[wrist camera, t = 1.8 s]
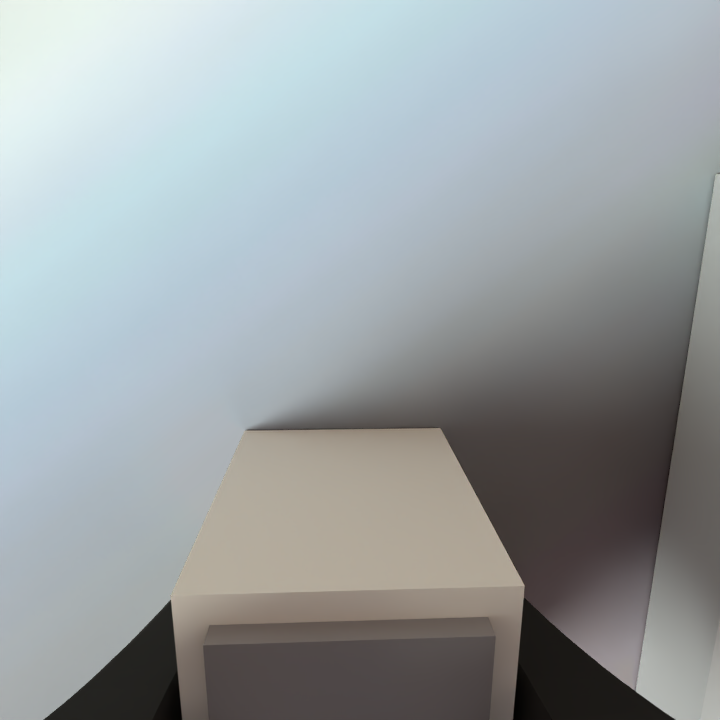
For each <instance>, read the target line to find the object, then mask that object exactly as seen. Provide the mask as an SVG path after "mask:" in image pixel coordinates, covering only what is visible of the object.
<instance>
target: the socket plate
mask: <svg viewBox="0 0 720 720" xmlns="http://www.w3.org/2000/svg"><path fill="white" fill-rule="evenodd" d="M636 692H637V693H638V694H640V695H641V696H643V697H644V698H645V699H647V700H648V701H650V702H651V703H652V704H654V705H655V706H656V707H658V708H659V709H661V710H662V711H664V712H665V713H666V714H668V715H669V716H671V717H672V718H674V719H675V720H720V174H716V175H715V182H714V188H713V195H712V201H711V207H710V214H709V220H708V227H707V233H706V240H705V246H704V253H703V259H702V266H701V272H700V279H699V285H698V291H697V298H696V304H695V311H694V317H693V324H692V330H691V337H690V343H689V350H688V356H687V363H686V369H685V376H684V382H683V388H682V395H681V401H680V408H679V414H678V421H677V427H676V434H675V440H674V447H673V453H672V460H671V466H670V472H669V479H668V485H667V492H666V498H665V505H664V511H663V518H662V524H661V531H660V537H659V544H658V550H657V556H656V563H655V569H654V576H653V582H652V589H651V595H650V602H649V608H648V615H647V621H646V628H645V634H644V640H643V647H642V653H641V660H640V666H639V673H638V679H637V686H636Z"/></svg>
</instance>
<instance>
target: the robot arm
mask: <svg viewBox="0 0 720 720" xmlns="http://www.w3.org/2000/svg"><path fill="white" fill-rule="evenodd" d="M44 720H182V712H181V701H180V691H179V680H178V669H177V659H176V648H175V637H174V627H173V616H172V605H171V600H170V601H169V602H168V603H167V604H166V605H165V607H164V608H163V609H162V610H161V611H160V612H159V613H158V614H157V615H156V616H155V617H154V618H153V619H152V620H151V621H150V622H149V623H148V624H147V625H146V627H145V628H144V629H143V630H142V631H141V632H140V633H139V634H138V635H137V636H136V637H135V638H134V639H133V640H132V641H131V642H130V643H129V644H128V645H127V646H126V647H125V648H124V649H123V650H122V651H121V652H120V653H119V654H118V655H116V656H115V657H114V658H113V659H112V660H111V661H110V662H109V663H108V664H107V665H106V666H105V667H104V668H103V669H102V670H101V671H100V672H99V673H97V674H96V675H95V676H94V677H93V678H92V679H91V680H90V681H89V682H88V683H87V684H86V685H85V686H83V687H82V688H81V689H80V690H79V691H78V692H77V693H75V694H74V695H73V696H72V697H71V698H70V699H68V700H67V701H66V702H65V703H64V704H63V705H61V706H60V707H59V708H58V709H56V710H55V711H54V712H53V713H51V714H50V715H49V716H48V717H47V718H45V719H44ZM513 720H675V719H674V718H672V717H671V716H669V715H668V714H666V713H665V712H664V711H662V710H661V709H659V708H658V707H656V706H655V705H654V704H652V703H651V702H650V701H648V700H647V699H645V698H644V697H643V696H641V695H640V694H638V693H637V692H636V691H634V690H633V689H631V688H630V687H629V686H627V685H626V684H625V683H623V682H622V681H620V680H619V679H618V678H617V677H615V676H614V675H613V674H611V673H610V672H609V671H607V670H606V669H605V668H604V667H602V666H601V665H600V664H599V663H598V662H596V661H595V660H594V659H593V658H591V657H590V656H589V655H588V654H587V653H585V652H584V651H583V650H582V649H581V648H579V647H578V646H577V645H576V644H575V643H573V642H572V641H571V640H570V639H569V638H568V637H566V636H565V635H564V634H563V633H562V632H561V631H560V630H558V629H557V628H556V627H555V626H554V625H553V624H552V623H551V622H549V621H548V620H547V619H546V618H545V617H544V616H543V615H542V614H541V613H540V612H539V611H538V610H536V609H535V608H534V607H533V606H532V605H531V604H530V603H529V602H528V601H527V600H526V599H525V598H524V600H523V611H522V623H521V634H520V645H519V656H518V667H517V679H516V690H515V701H514V712H513Z"/></svg>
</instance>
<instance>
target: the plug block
mask: <svg viewBox="0 0 720 720" xmlns="http://www.w3.org/2000/svg"><path fill="white" fill-rule="evenodd" d="M524 589H525V585H524V584H523V582H522V580H521V578H520V576H519V574H518V572H517V570H516V569H515V567H514V565H513V563H512V561H511V559H510V557H509V555H508V554H507V552H506V550H505V548H504V546H503V544H502V542H501V541H500V539H499V537H498V535H497V533H496V531H495V529H494V527H493V526H492V524H491V522H490V520H489V518H488V516H487V514H486V512H485V511H484V509H483V507H482V505H481V503H480V501H479V499H478V497H477V496H476V494H475V492H474V490H473V488H472V486H471V484H470V483H469V481H468V479H467V477H466V475H465V473H464V471H463V469H462V468H461V466H460V464H459V462H458V460H457V458H456V456H455V454H454V453H453V451H452V449H451V447H450V445H449V443H448V441H447V439H446V438H445V436H444V434H443V432H442V430H441V428H406V429H331V430H256V431H244V433H243V436H242V438H241V440H240V442H239V445H238V447H237V449H236V451H235V453H234V456H233V458H232V460H231V462H230V465H229V467H228V469H227V471H226V473H225V476H224V478H223V480H222V482H221V485H220V487H219V489H218V491H217V493H216V496H215V498H214V500H213V502H212V505H211V507H210V509H209V511H208V513H207V516H206V518H205V520H204V522H203V525H202V527H201V529H200V531H199V534H198V536H197V538H196V540H195V542H194V545H193V547H192V549H191V551H190V554H189V556H188V558H187V560H186V562H185V565H184V567H183V569H182V571H181V574H180V576H179V578H178V580H177V582H176V585H175V587H174V589H173V591H172V594H171V605H172V616H173V627H174V637H175V648H176V659H177V669H178V680H179V691H180V701H181V712H182V720H513V712H514V701H515V690H516V679H517V667H518V656H519V645H520V634H521V623H522V611H523V600H524Z"/></svg>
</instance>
